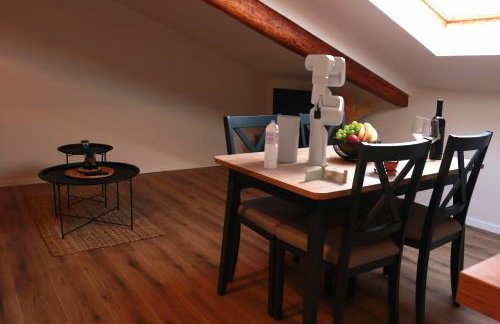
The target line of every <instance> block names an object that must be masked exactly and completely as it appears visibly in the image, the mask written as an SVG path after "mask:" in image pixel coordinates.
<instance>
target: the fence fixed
mask: <svg viewBox="0 0 500 324" xmlns="http://www.w3.org/2000/svg"><path fill="white" fill-rule="evenodd" d="M320 167H321V169H323V170H322V178H321V179H324V180H325V179H326V180H331V181H333V182H338V183H343V184H347V181H348V174H349V173H348V169H344V171H343V172H342V171H337V170H333V169H328V168H326V166H325V165H322V166H320Z"/></svg>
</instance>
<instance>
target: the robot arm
mask: <svg viewBox="0 0 500 324" xmlns="http://www.w3.org/2000/svg"><path fill="white" fill-rule="evenodd" d="M304 64H305V69H306V70H308V71H312V79H311V80H312V81H311V84H312V85H313V86H312V91H311V102H310V103H311V104H313V105H314V107H312V108H311V109H310V111H309V120H310V123H309V124H310V130H309V131H310V132H309V142H308V143H309V144H308V145H309V146H308V158H307V160H305V161H304V164H307V165H311V166H316V167H322V165H325V167H328V166H329V162H327V161H328V160H330V155H327V148H328V136H329V133H328V130H327V129H326V127H325V126H340V125H341V124H342V122H343V120H344V113H345V111H344V109H345V100H344V98H343V97H342V96H339V95H332V91H331V90H330V89H329V87H338V88H339V87H342V86H344V85H345V81H346V61H345V58H343V57H341V56H332V55H331V54H329V55H328V54H307V56H306V58H305V62H304Z"/></svg>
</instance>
